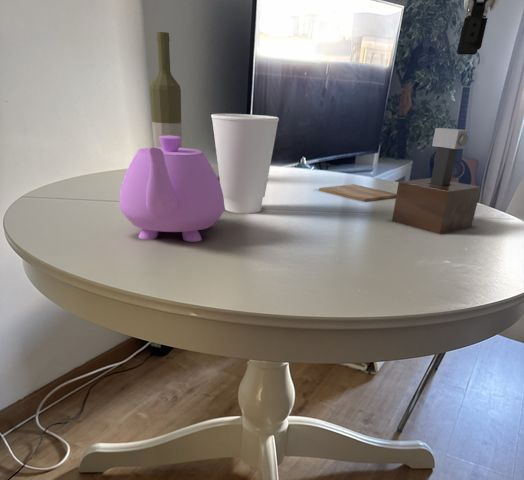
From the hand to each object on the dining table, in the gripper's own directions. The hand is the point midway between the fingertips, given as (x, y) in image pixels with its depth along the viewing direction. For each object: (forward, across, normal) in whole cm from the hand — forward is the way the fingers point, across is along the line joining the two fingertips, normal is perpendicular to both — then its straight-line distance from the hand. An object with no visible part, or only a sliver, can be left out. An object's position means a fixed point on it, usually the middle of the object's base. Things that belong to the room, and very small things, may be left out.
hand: (467, 51), depth 78 cm
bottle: (+27, +13, +62) cm, 69 cm away
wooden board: (+27, +19, +17) cm, 37 cm away
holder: (+27, -4, 0) cm, 27 cm away
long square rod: (+27, -4, 0) cm, 27 cm away
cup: (+27, -10, +35) cm, 45 cm away
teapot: (+27, -32, +38) cm, 57 cm away
